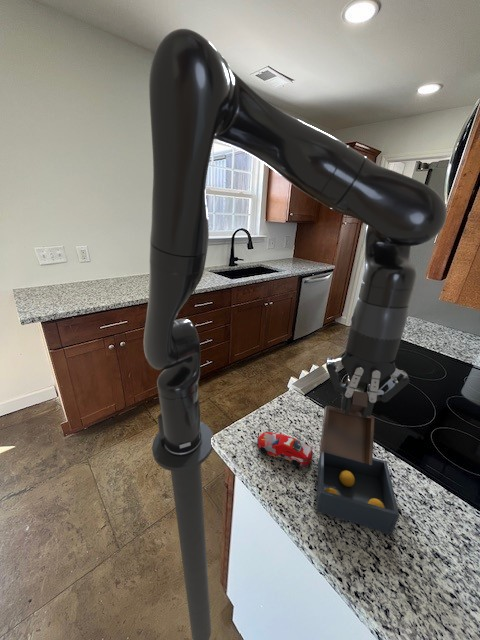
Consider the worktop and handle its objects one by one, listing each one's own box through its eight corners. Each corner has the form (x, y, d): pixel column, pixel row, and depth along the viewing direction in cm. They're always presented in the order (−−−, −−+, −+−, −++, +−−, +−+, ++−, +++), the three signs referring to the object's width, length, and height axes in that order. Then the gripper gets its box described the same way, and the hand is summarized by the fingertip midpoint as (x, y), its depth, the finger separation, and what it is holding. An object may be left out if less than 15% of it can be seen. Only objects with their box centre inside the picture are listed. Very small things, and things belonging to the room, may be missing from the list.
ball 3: (391, 511, 49) (380, 507, 48) (382, 523, 49) (371, 519, 49) (381, 496, 52) (369, 492, 51) (372, 508, 52) (361, 504, 51)
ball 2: (340, 474, 58) (349, 489, 56) (334, 475, 56) (343, 490, 54) (350, 467, 57) (360, 481, 55) (344, 467, 55) (354, 482, 53)
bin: (316, 511, 51) (320, 492, 49) (318, 462, 61) (321, 445, 59) (391, 534, 48) (399, 515, 46) (380, 479, 58) (386, 461, 56)
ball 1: (328, 510, 50) (343, 506, 50) (323, 492, 51) (338, 488, 51) (323, 504, 53) (338, 501, 53) (319, 487, 54) (333, 484, 54)
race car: (253, 450, 64) (254, 437, 63) (262, 434, 69) (262, 422, 67) (307, 473, 59) (309, 460, 57) (313, 454, 63) (315, 442, 62)
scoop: (325, 396, 59) (333, 386, 48) (370, 406, 57) (389, 397, 45) (319, 451, 55) (326, 454, 44) (367, 463, 53) (387, 470, 41)
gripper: (331, 329, 41) (315, 417, 48) (433, 344, 37) (401, 437, 44) (330, 313, 48) (316, 392, 54) (418, 325, 44) (391, 408, 51)
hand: (354, 412), depth 49 cm, fingers closed on scoop, 2 cm apart
